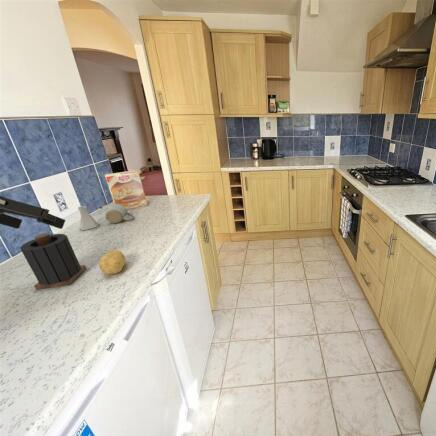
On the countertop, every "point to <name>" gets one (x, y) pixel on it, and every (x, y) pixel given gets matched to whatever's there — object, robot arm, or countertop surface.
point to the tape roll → (51, 260)
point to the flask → (86, 219)
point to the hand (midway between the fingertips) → (41, 224)
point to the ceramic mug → (118, 213)
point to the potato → (112, 262)
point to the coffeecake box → (126, 189)
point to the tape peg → (44, 240)
